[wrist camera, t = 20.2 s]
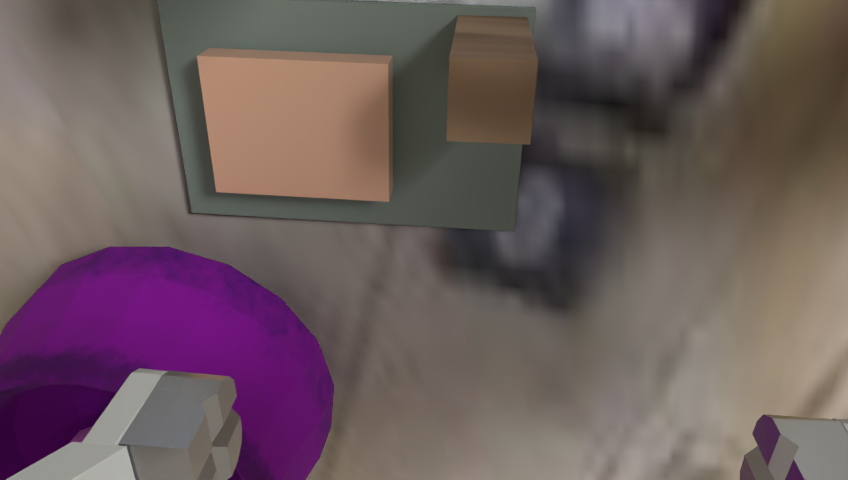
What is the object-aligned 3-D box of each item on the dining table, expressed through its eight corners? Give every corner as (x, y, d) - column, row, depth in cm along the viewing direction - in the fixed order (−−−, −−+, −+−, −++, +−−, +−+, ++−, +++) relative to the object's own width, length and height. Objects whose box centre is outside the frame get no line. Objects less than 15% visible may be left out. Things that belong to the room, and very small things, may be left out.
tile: (388, 64, 31) (196, 55, 31) (389, 201, 34) (216, 192, 35) (393, 54, 32) (211, 46, 33) (393, 186, 36) (228, 177, 36)
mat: (534, 7, 31) (535, 9, 31) (513, 226, 37) (513, 231, 36) (161, -7, 32) (155, -5, 32) (195, 208, 38) (191, 212, 38)
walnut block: (521, 85, 33) (530, 144, 26) (455, 82, 33) (446, 141, 26) (527, 17, 31) (538, 60, 24) (458, 14, 31) (449, 57, 24)
